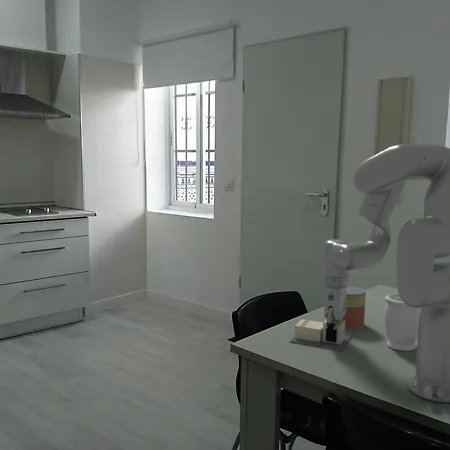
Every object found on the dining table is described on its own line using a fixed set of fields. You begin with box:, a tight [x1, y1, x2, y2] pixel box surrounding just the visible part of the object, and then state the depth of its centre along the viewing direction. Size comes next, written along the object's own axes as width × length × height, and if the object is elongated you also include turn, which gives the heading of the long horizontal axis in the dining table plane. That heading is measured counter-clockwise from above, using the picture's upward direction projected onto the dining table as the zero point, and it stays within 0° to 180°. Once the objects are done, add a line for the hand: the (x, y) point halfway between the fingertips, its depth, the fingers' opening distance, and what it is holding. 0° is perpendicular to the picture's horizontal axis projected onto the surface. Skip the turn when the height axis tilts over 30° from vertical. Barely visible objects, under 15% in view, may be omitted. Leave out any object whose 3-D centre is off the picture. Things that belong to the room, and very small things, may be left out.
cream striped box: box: [294, 318, 324, 342], centre depth 156 cm, size 7×8×4 cm
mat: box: [289, 333, 353, 352], centre depth 155 cm, size 14×16×1 cm
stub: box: [323, 318, 346, 344], centre depth 152 cm, size 6×5×6 cm
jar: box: [383, 293, 422, 352], centre depth 148 cm, size 11×10×15 cm
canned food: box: [342, 285, 367, 331], centre depth 168 cm, size 11×11×12 cm
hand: (333, 337), depth 153 cm, fingers closed on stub, 5 cm apart
